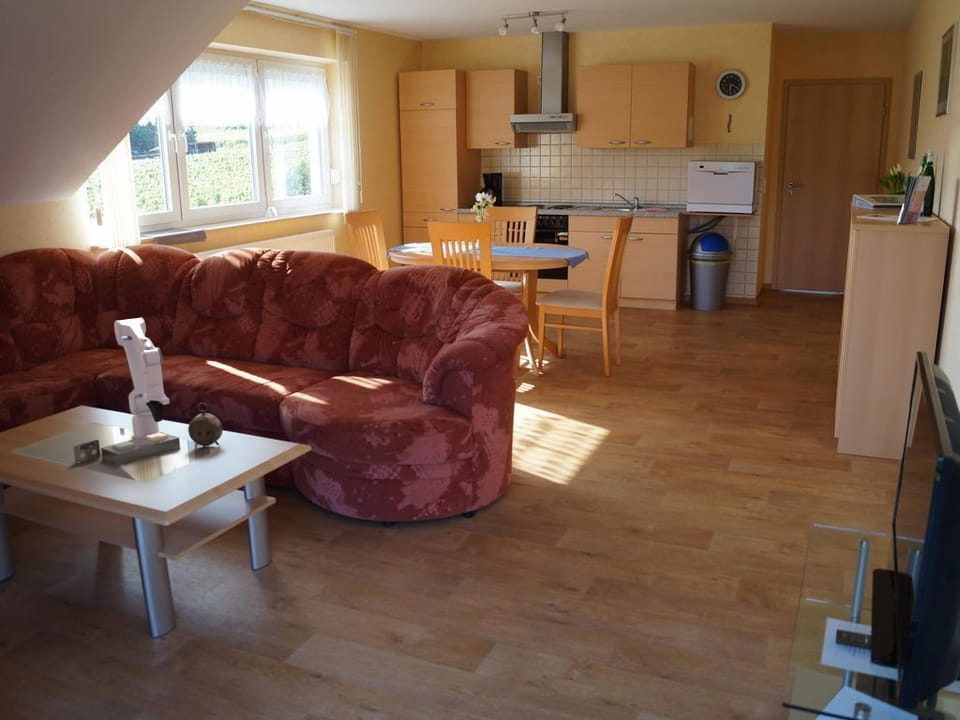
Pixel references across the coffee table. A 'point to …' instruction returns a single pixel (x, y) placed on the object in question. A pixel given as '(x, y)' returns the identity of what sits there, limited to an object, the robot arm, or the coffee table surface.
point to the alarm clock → (205, 429)
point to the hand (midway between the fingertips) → (158, 421)
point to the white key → (156, 437)
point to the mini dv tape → (87, 451)
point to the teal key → (123, 446)
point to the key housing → (140, 450)
